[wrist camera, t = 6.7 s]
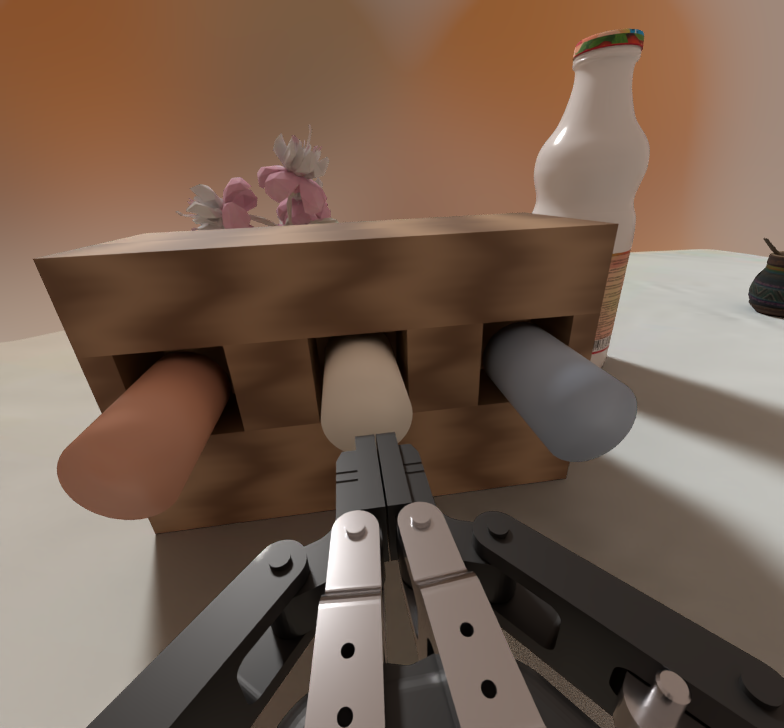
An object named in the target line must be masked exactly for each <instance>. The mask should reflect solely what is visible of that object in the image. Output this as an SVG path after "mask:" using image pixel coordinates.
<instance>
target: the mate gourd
mask: <svg viewBox="0 0 784 728" xmlns="http://www.w3.org/2000/svg"><path fill="white" fill-rule="evenodd" d="M764 240H765V242H766V243H767V245H768V246H769V248H770V249H771V250H772V251H773V252H774V253H771V254H770V255H769V258H768V261H767V266H766V268H765V269H764V270H762V271H761V272H760V273H759V274H758V275H757V276H756V277H755V279H754V281H753V282H752V284H751V286H750V289H749V294H748V295H749V299H750V300H749V303H750V305H751V306H752V307H753V308H754V309H755V310H756V311H758V312H760V313H763V314H768V315H773V316H782V317H784V251H781V252H779V251H777V250H776V248H775V247H774V246H773V245H772V244H771V243H770V242H769V240H768V239H765V238H764Z"/></svg>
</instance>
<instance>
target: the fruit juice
mask: <svg viewBox="0 0 784 728" xmlns="http://www.w3.org/2000/svg"><path fill="white" fill-rule="evenodd" d="M643 42H644V33H643V31H641V30H638V29H618V30H611V31H606V32H602V33H599V34H595V35H592V36H590V37H587V38H585V39H583V40H581V41H580V42H579V43H578V44H577V45H576V48H575V52H574V56H573V70H574V71H575V81H574V86H573V90H572V93H571V97H570V99H569V102H568V105H567V107H566V110H565V112H564V115H563V117H562V119H561V121H560V123H559V125H558V127H557V128H556V130H555V131H554V133H553V134H552V135H551V136H550V138H549V139H548V140H547V141H546V143H545V144H544V145H543V147H542V149H541V150H540V152H539V154H538V157H537V160H536V164H535V170H534V182H535V189H536V195H537V199H536V205H535V208H534V210H533V212H532V213H533V214H541V215H550V216H558V217H567V218H575V219H583V220H592V221H600V222H609V223H617V224H619V225H618V230H617V235H616V239H615V244H614V249H613V254H612V259H611V264H610V268H609V273H608V278H607V283H606V288H605V293H604V297H603V302H602V307H601V312H600V317H599V322H598V326H597V331H596V336H595V341H594V346H593V351H592V355H591V360H590V361H591V362H592V363H594V364H595V365H597V366H598V367H600V368H601V367H602V365H603V364H604V361H605V359H606V356H607V352H608V348H609V343H610V339H611V334H612V330H613V325H614V321H615V317H616V312H617V308H618V303H619V299H620V294H621V290H622V286H623V281H624V277H625V272H626V268H627V263H628V259H629V255H630V251H631V247H632V242H633V237H634V231H635V223H636V215H635V211H634V206H633V204H634V203H633V201H634V197H635V193H636V191H637V189H638V187H639V185H640V183H641V181H642V179H643V177H644V174H645V172H646V169H647V167H648V160H649V152H650V150H649V143H648V140H647V137H646V135H645V134H644V132H643V130H642V129H641V127H640V126H639V124H638V122H637V120H636V117H635V113H634V107H633V98H632V76H633V70H634V66H635V63H636V62H637V61H638V60H639V58H640V54H641V51H642V49H643Z"/></svg>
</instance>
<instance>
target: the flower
mask: <svg viewBox="0 0 784 728" xmlns="http://www.w3.org/2000/svg"><path fill="white" fill-rule="evenodd" d="M309 131H310V133H309V137H308V141H307V145H306V148H305V149H304V148H302V142H301V141H300V140H299V139H297V137H296V136H293V135H292V138H291V140H290V142H289V144H288V147H287V146H286V144H285V142H284V139H283V136H282V134H280V135H279V136H278V137H277V138H276V140H275V144H274V148H273V151H274V152H275V154H276V155H277V156H278V158H279V159H280V161H281V162H282V164H283V165H284V167H282V166H280V165H277V166H268V167H261V169H260V170H259V171H258V173H257V175H258V181H259V186H260V187H261V188H264V187H265V192H266V194H268V196H269V197H270V198H271V199H273V200H275V201H276V202H278V203H280V202H281V203H280V205H279V207H278V208H277V210H276V212H277V215H278V218H279V220H280V224H275V223H274V222H271V221H270V220H268V219H266V218H264V217H260V216H254V215H249V214H248V213H247V211H249V210H250V209H252V208H254V207H256V206H257V197H256V196H255V195H254V193H253V192H252V191H251V190H250V189H248V188H249V187H251V186H250V185H249V184H248V183H247V182H246V181H245V180H243V179H242V178H241V177H238V178H232V179H231V180H230V182H229V183H228V185H227V186H226V188H225V189H224V191H223V200H222V198H219V197H218V196H217V194H216V193H215V192H214V191H213V190H212V189H211V188H210V187H209V186H207V185H202V184H199V185H197V186H194V187H192V188H190V189H191V190H192V191H193V192H194V193H195V194H196V195H197V196H195V197H194V200H196V201H197V202H196V201H193V200H191V199H190V198H189V199H190V201H191V203H190V202H188V203H189V204H190V206H189V207H188V208H187V209H186V211H188V212H192V213H196V214H197V215H185V214H182V213H181V212H179V211H176V213H178V214H179V215H181V216H186V217H192V218H196V219H194V220H193V221H194V222H195V223H196V224H201V226H200V227H198V228H193V229H192V231H195V230H216V229H235V228H253V226H251V225H250V224H249V223H250V220H254V221H257V222H260V223H263V224H265V225H268V227H271V226H289V225H307V224H325V223H339V222H338V221H337V220H335V219H332V218H331V211H330V210H329V208H328V207H327V206H328V204H327V203H326V200H327V197H326V195H325V193H324V191H323V189H322V186H323V184H322V182H321V181H320V179H319V178H317V180H316V181H315V182H314V181H313V180H312V178H316V177H320V176H323V175H324V174H325V171H326V169H327V166H328V163H329V159H328V158H327V157H326V158H324V159H322V160H321V161H319V162H318V160H319V157H320V155H321V151H320V150H321V148H322V146H321V147H320V148H319V149H318V150H317V151H316V149H317V147H318V146H314V149H313V152H310V150H311V145H309V143H310V138H311V133H312V129H311V126H310V125H309ZM292 139H293V141H292ZM304 145H305V142H304Z"/></svg>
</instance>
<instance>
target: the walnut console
mask: <svg viewBox="0 0 784 728" xmlns="http://www.w3.org/2000/svg"><path fill="white" fill-rule="evenodd" d="M618 225H619V224H617V223H609V222H600V221H592V220H583V219H575V218H567V217H558V216H550V215H541V214H533V213H507V214H489V215H471V216H452V217H435V218H416V219H400V220H399V219H398V220H380V221H363V222H345V223H325V224H307V225H289V226H271V227H253V228H235V229H216V230H198V231H181V232H163V233H145V234H141V235H136V236H132V237H127V238H123V239H118V240H114V241H110V242H105V243H101V244H96V245H92V246H88V247H83V248H79V249H75V250H70V251H66V252H61V253H57V254H52V255H48V256H44V257H39V258H35V259H33V260H34V262H35V264H36V267H37V269H38V271H39V273H40V276H41V278H42V280H43V283H44V285H45V287H46V289H47V291H48V294H49V296H50V298H51V301H52V302H53V305H54V307H55V310H56V312H57V314H58V316H59V318H60V321H61V323H62V325H63V327H64V330H65V332H66V334H67V336H68V339H69V341H70V343H71V345H72V348H73V350H74V352H75V354H76V357H77V359H78V361H79V363H80V366H81V368H82V370H83V372H84V375H85V377H86V379H87V381H88V384H89V386H90V388H91V390H92V393H93V395H94V397H95V399H96V402H97V404H98V406H99V408H100V411H101V413H103V412H104V411H105V410H106V409H107V408H108V407H109V406H111V405H112V404H113V403H114V402H115V401H116V400H117V399H118V398H119V397H120V396H121V395H122V394H123V393H124V392H125V391H126V390H127V389H128V388H129V387H130V386H131V385H133V384H134V383H135V382H136V381H137V380H138V379H139V378H140V377H141V376H142V375H143V374H144V373H145V372H146V371H147V370H148V369H149V368H150V367H151V366H152V365H153V364H154V363H156V362H157V361H158V360H159V359H160V358H162V357H163V356H165V355H168V354H171V353H174V352H193V353H198V354H201V355H204V356H206V357H208V358H210V359H212V360H213V361H214V362H216V363H217V364H218V365H219V366H220V367H221V368H222V369H223V370H224V372H225V373H226V375H227V377H228V379H229V382H230V387H231V392H230V397H229V400H228V402H227V404H226V406H225V408H224V410H223V412H222V414H221V416H220V418H219V420H218V421H217V423H216V425H215V427H214V429H213V431H212V433H211V435H210V437H209V439H208V441H207V443H206V445H205V447H204V449H203V451H202V453H201V455H200V457H199V459H198V460H197V462H196V464H195V466H194V468H193V470H192V472H191V474H190V476H189V478H188V480H187V482H186V484H185V486H184V488H183V490H182V492H181V494H180V496H179V498H178V499H177V501H176V502H175V503H174V504H173V505H172V506H171V507H170V508H169V509H167V510H166V511H164V512H162V513H160V514H158V515H155V516H152V517H149V521H150V523H151V525H152V527H153V530H154V532H155V534H158V533H165V532H173V531H180V530H188V529H195V528H202V527H210V526H217V525H225V524H232V523H239V522H247V521H254V520H262V519H269V518H276V517H284V516H291V515H299V514H306V513H313V512H321V511H328V510H336V461H337V460H338V458H339V456H340V454H341V453H342V452H345V451H342V450H341V449H339V448H337V447H336V446H334V445H333V444H332V443H331V442H330V441H329V440H328V438H327V437H326V435H325V434H324V431H323V429H322V425H321V408H322V393H323V378H324V363H325V350H326V345H327V343H328V341H329V339H330V337H331V336H341V335H353V334H364V333H376V332H383V333H384V334H385V336H386V337H387V339H388V340H389V343H390V345H391V348H392V351H393V354H394V357H395V360H396V362H397V365H398V368H399V371H400V374H401V377H402V380H403V382H404V385H405V388H406V391H407V394H408V397H409V400H410V402H411V406H412V412H413V415H412V422H411V425H410V428H409V430H408V432H407V434H406V435H405V436H404V438H403V439H402V440H401V441H400V442H399V443H398V445H403V444H411V445H412V446H413V447H414V448H415V449H416V450H417V451H418V452H419V455H420V458H421V461H422V464H423V467H424V471H425V474H426V477H427V480H428V483H429V486H430V489H431V493H432V496H439V495H447V494H454V493H461V492H469V491H476V490H484V489H491V488H498V487H506V486H513V485H521V484H528V483H535V482H543V481H550V480H558V479H565V478H566V476H567V471H568V467H569V461H565V460H561V459H559V458H557V457H556V456H554V455H553V454H552V453H551V452H550V451H549V450H548V449H547V447H546V446H545V445H544V444H543V442H542V441H541V440H540V439H539V438H538V436H537V435H536V434H535V433H534V431H533V430H532V429H531V428H530V427H529V425H528V424H527V423H526V422H525V420H524V419H523V418H522V417H521V416H520V414H519V413H518V412H517V411H516V409H515V408H514V407H513V406H512V405H511V403H510V402H509V401H508V400H507V398H506V397H505V396H504V395H503V394H502V392H501V391H500V390H499V389H498V387H497V386H496V385H495V384H494V383H493V381H492V380H491V379H490V378H489V376H488V375H487V374H486V372H485V369H484V366H483V354H484V350H485V348H486V345H487V344H488V342H489V340H490V339H491V338H492V337H493V335H494V334H495V333H497V332H498V331H499V330H500V329H502V328H503V327H505V326H507V325H510V324H513V323H517V322H529V323H533V324H535V325H537V326H539V327H540V328H542V329H543V330H545V331H546V332H548V333H549V334H551V335H552V336H554V337H555V338H557V339H558V340H560V341H561V342H563V343H564V344H566V345H567V346H568V347H570V348H571V349H573V350H574V351H576V352H577V353H579V354H580V355H582V356H583V357H585V358H586V359H588V360H589V361H590V360H591V355H592V351H593V346H594V341H595V336H596V331H597V326H598V322H599V317H600V312H601V307H602V302H603V297H604V293H605V288H606V283H607V278H608V273H609V268H610V264H611V259H612V254H613V249H614V244H615V239H616V235H617V230H618Z"/></svg>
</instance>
